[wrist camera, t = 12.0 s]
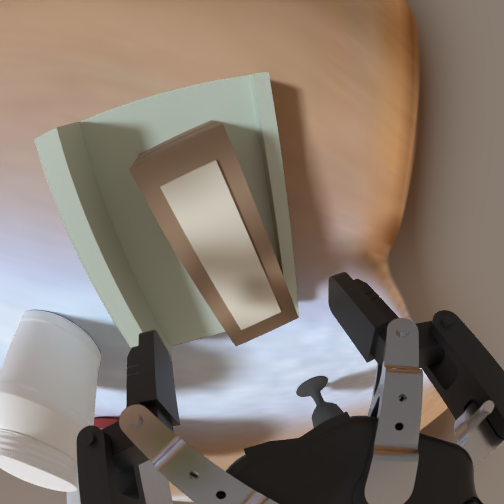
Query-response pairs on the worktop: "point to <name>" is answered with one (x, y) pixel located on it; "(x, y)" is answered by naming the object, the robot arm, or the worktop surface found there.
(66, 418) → the jar
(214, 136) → the frame
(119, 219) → the ledge
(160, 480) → the citrus juicer
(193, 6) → the worktop surface
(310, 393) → the sundae
